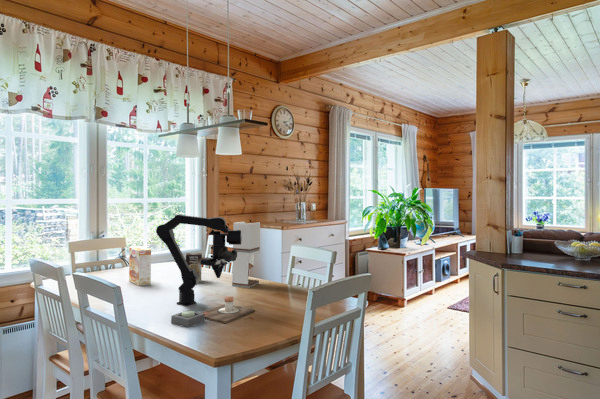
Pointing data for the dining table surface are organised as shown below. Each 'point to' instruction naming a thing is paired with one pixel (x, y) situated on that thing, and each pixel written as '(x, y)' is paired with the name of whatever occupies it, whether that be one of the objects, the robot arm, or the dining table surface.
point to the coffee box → (195, 262)
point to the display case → (245, 253)
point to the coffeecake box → (140, 265)
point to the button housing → (187, 319)
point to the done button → (188, 314)
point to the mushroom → (229, 303)
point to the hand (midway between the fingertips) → (218, 277)
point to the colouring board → (226, 313)
